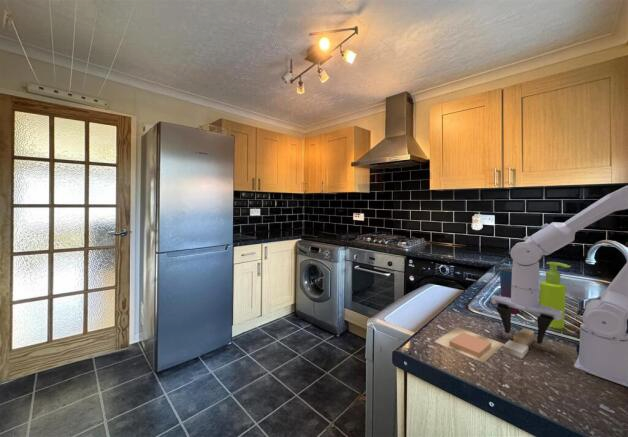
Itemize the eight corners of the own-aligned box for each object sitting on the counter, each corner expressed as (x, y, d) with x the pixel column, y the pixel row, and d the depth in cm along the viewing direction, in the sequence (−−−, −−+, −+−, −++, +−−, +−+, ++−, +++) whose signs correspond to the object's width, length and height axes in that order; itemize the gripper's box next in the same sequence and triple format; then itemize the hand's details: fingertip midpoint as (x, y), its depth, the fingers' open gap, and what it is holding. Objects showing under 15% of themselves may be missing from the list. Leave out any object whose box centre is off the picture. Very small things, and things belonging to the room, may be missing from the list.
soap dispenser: (559, 331, 77) (562, 265, 76) (534, 321, 83) (536, 260, 83) (572, 329, 78) (575, 264, 78) (547, 319, 85) (549, 259, 84)
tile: (491, 342, 67) (478, 352, 62) (491, 347, 67) (478, 357, 62) (462, 332, 72) (449, 341, 68) (462, 336, 73) (449, 345, 68)
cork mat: (504, 345, 69) (504, 343, 69) (483, 364, 60) (483, 362, 60) (457, 328, 78) (457, 327, 78) (433, 343, 70) (433, 341, 70)
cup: (527, 314, 89) (528, 272, 88) (507, 314, 89) (508, 271, 88) (512, 307, 96) (513, 267, 95) (494, 307, 96) (495, 267, 95)
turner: (537, 343, 70) (538, 332, 70) (522, 361, 62) (522, 349, 62) (519, 337, 73) (520, 326, 73) (502, 353, 65) (502, 342, 65)
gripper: (487, 283, 71) (486, 330, 72) (558, 297, 60) (556, 354, 60) (497, 278, 76) (495, 324, 76) (565, 291, 64) (562, 344, 65)
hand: (523, 337), depth 69 cm, fingers open, 6 cm apart
